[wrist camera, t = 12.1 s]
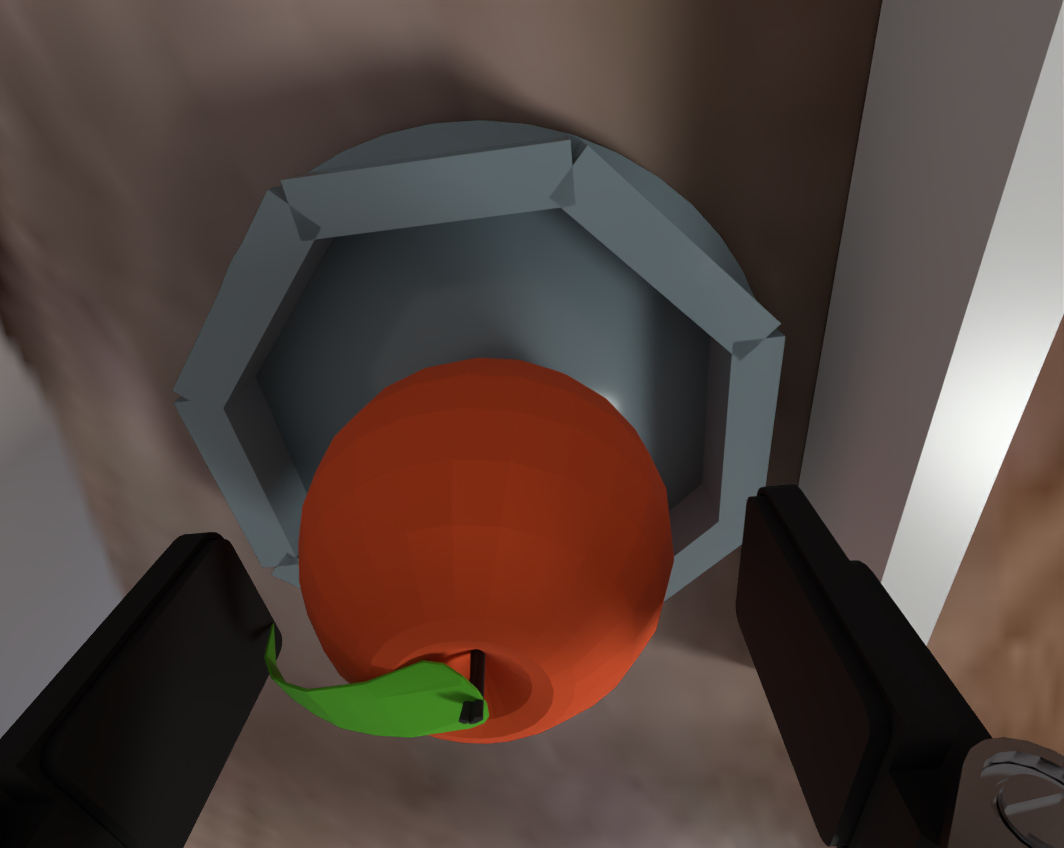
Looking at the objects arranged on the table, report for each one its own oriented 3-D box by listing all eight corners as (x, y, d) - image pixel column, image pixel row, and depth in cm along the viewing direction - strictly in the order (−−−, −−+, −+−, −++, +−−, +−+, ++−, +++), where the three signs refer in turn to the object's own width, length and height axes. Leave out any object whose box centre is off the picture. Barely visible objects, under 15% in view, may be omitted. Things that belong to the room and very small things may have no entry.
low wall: (1070, -427, 7) (1581, -941, 4) (807, 670, 19) (866, 792, 16) (952, -404, 7) (1339, -883, 4) (765, 673, 19) (814, 794, 16)
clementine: (404, 573, 16) (317, 866, 10) (270, 376, 12) (7, 632, 6) (668, 505, 14) (763, 802, 8) (596, 260, 11) (665, 450, 5)
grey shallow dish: (791, 71, 10) (855, 62, 8) (736, 577, 17) (763, 639, 15) (118, 169, 11) (23, 181, 9) (328, 608, 18) (302, 671, 16)
